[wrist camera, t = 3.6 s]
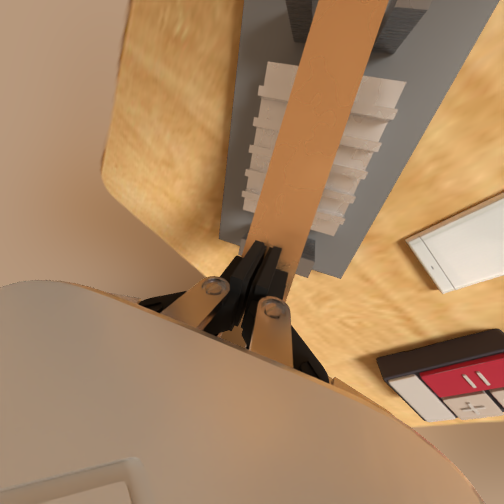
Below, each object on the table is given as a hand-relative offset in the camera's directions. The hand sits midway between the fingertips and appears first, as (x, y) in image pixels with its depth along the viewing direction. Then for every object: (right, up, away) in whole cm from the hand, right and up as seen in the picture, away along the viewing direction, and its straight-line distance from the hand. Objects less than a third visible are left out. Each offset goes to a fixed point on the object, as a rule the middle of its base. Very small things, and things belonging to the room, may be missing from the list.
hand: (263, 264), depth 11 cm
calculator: (+28, -16, +16) cm, 36 cm away
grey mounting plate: (+5, +11, +9) cm, 15 cm away
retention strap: (+3, +7, +1) cm, 8 cm away
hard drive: (+24, +3, +8) cm, 25 cm away
